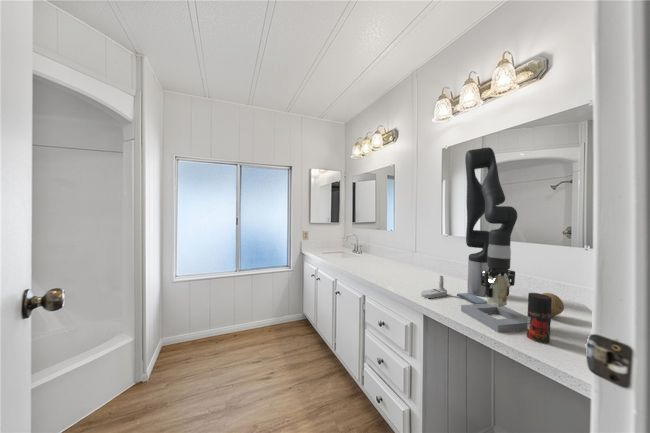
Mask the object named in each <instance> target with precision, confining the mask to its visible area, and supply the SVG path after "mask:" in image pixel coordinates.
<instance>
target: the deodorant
mask: <svg viewBox="0 0 650 433" xmlns="http://www.w3.org/2000/svg"><path fill="white" fill-rule="evenodd" d="M527 298H528V299H527V315H526V316H527V329H526V337H527V338H528V339H529V340H531V341H532V342H536V343H538V344H539V343H540V344H546V345H547V344H549V343H550V338H551V320H552V317H551V302H552V298H551V297H550V296H547V295H544V294H543V293H539V292H529V293H528V297H527Z"/></svg>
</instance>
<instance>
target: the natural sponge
mask: <svg viewBox="0 0 650 433" xmlns="http://www.w3.org/2000/svg"><path fill="white" fill-rule="evenodd" d="M542 294H544V295H547V296H550V297H551V298H552V302H551V318H553V317H556V316H558V315H560V314H562V312H563V311H564V309H565V305H564V302H563V300H562V299H561V297H559V296H558V295H555V294H554V293H551V292H543V293H542Z"/></svg>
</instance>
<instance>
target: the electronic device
mask: <svg viewBox="0 0 650 433" xmlns="http://www.w3.org/2000/svg"><path fill="white" fill-rule="evenodd" d="M438 282H439V283H438V287H436V288H432V289H426V290H421V291H420V297H421V296H422V297H421V298H423V297H424V298H423V299H426V298H431V299H435V297H436V298H440V297H446V296H447V295H448V290H447V289H445V288H444V276H443V275H439V281H438Z"/></svg>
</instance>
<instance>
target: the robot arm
mask: <svg viewBox="0 0 650 433" xmlns="http://www.w3.org/2000/svg"><path fill="white" fill-rule="evenodd" d="M464 160H465V172H466V233H465V243H466V246H467V247H469V248H475V249H477V248H478V249H482V250H480V251H477V252H474V253H471V254H469V255H468V259H467V260H468V263H467V293H470V294H472V295H474V296H477V297H478V296H480V297H487V298H488V297H490V298H492V292H493V289H492V287H493V285H494V284H496V277H495V276H497V277H498V276H504V277H505V278H506V283H507V298H508V297H509V295H510V288H511V287H513V286H515V281H516V271H514V270H510V269H511V259H512V258H511V255H512V249H511V241H512V240H511V239H512V238H511V236H512V233H513V231H514V227H515V225H516V222H517V220H518V211H517V210H516V208H515V207H513V206H508V205H507V206H504V205H503V206H502V204H503V203H505V201H506V196H505V193H504V191H503V187H502V185H501V182H500V176H499V171H498V164H497V159H496V154H495V152H494V150H493V149H492V148H491V147H481V148H475V149H470V150H467V151H466V153H465V159H464ZM485 168H487V173H486V176H485V178H484V180H483V182H482V183H480V181H479V180H478V177H477V174H476V170H480V169H485ZM483 215H484V218H485V221H486V222H488V223H489V224H494V225H495V224H496V225H497V224H498V225H500V224H501V226H500V227H499V228H496V229H492V230H490V231H489V230H479V229H478V230H477V229H475V226H476V224H477V223H478V221H479V220H480V219H481V218H482V216H483ZM490 275H491V276H492V278H494V280H493V281H492V280H489V276H490ZM507 276H508V277H507ZM489 282H491V283H490V285H489Z"/></svg>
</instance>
